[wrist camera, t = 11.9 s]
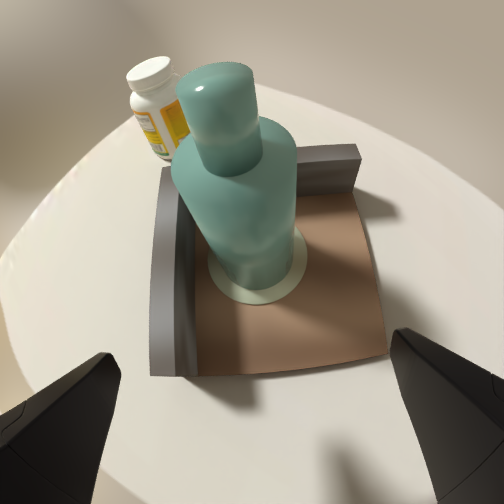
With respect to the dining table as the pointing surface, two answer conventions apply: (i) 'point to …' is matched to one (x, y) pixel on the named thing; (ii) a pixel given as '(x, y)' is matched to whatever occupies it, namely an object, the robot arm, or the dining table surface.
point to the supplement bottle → (158, 105)
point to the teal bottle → (237, 175)
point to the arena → (271, 299)
